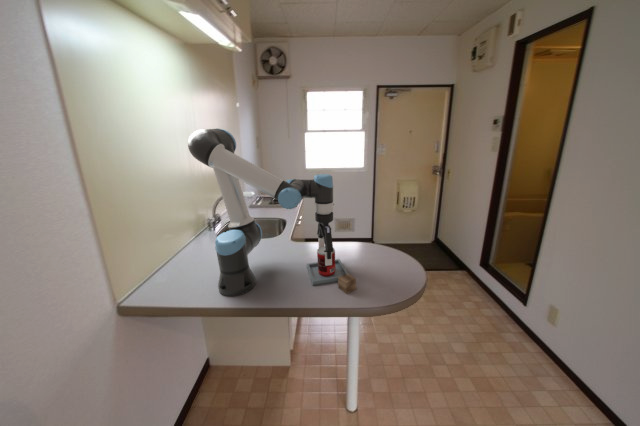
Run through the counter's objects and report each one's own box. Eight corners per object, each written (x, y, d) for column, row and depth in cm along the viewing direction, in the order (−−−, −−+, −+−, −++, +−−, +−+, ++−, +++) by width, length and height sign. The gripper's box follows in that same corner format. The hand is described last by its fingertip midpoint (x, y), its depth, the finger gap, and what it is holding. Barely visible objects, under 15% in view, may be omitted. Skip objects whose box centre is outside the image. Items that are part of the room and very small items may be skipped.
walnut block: (346, 294, 108) (345, 282, 106) (338, 288, 112) (338, 277, 110) (355, 289, 110) (355, 278, 109) (348, 284, 114) (348, 273, 113)
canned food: (335, 267, 127) (335, 246, 123) (335, 277, 119) (334, 253, 116) (319, 267, 127) (318, 246, 124) (317, 276, 120) (316, 254, 117)
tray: (312, 285, 114) (312, 281, 114) (306, 267, 129) (306, 263, 129) (349, 279, 117) (349, 275, 117) (339, 262, 132) (339, 259, 132)
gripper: (341, 220, 104) (341, 270, 110) (326, 203, 127) (326, 245, 133) (321, 222, 102) (322, 272, 109) (310, 204, 126) (311, 247, 132)
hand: (324, 257), depth 121 cm, fingers open, 13 cm apart
